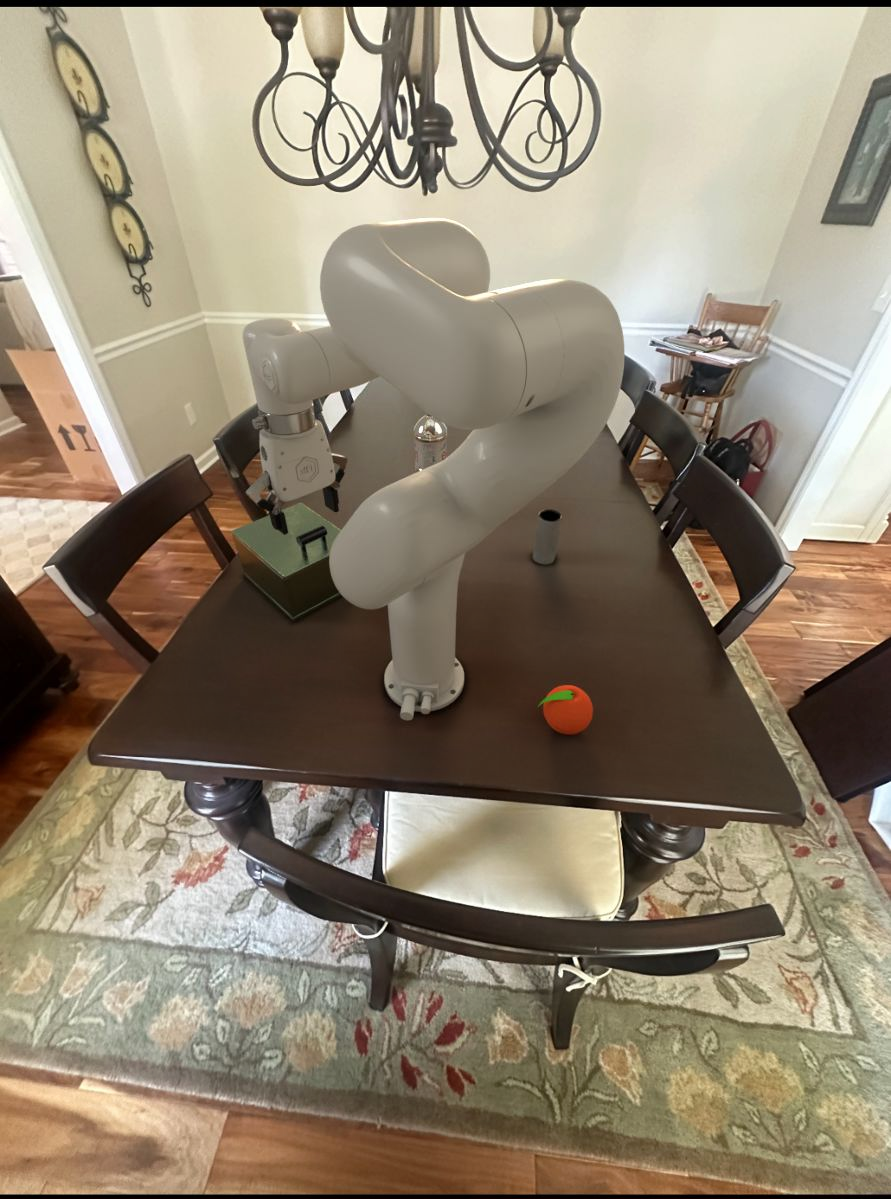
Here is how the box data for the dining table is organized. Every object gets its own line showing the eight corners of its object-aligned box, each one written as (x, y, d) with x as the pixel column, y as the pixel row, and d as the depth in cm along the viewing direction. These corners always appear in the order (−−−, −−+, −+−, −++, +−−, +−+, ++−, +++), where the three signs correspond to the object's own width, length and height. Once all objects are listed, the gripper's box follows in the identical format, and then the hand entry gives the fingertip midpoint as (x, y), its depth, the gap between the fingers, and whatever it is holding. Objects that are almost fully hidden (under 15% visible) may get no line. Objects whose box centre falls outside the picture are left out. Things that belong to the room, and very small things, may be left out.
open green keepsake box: (360, 585, 99) (355, 543, 93) (293, 622, 92) (282, 578, 85) (309, 546, 109) (301, 505, 102) (245, 576, 101) (231, 534, 95)
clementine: (538, 746, 73) (545, 716, 68) (528, 706, 78) (534, 676, 73) (594, 742, 73) (604, 712, 69) (580, 703, 78) (589, 672, 74)
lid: (357, 545, 92) (354, 520, 89) (285, 580, 85) (278, 555, 81) (301, 505, 102) (296, 482, 99) (231, 534, 95) (224, 509, 91)
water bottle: (437, 528, 115) (436, 417, 98) (410, 520, 117) (406, 410, 101) (451, 514, 119) (453, 405, 103) (426, 506, 122) (424, 399, 105)
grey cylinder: (551, 567, 104) (558, 523, 97) (529, 561, 106) (535, 518, 99) (557, 555, 107) (564, 512, 100) (536, 549, 109) (542, 507, 102)
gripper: (245, 444, 67) (272, 550, 78) (353, 409, 76) (363, 509, 87) (218, 426, 71) (248, 530, 82) (324, 395, 80) (338, 493, 91)
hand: (307, 519), depth 85 cm, fingers open, 9 cm apart
